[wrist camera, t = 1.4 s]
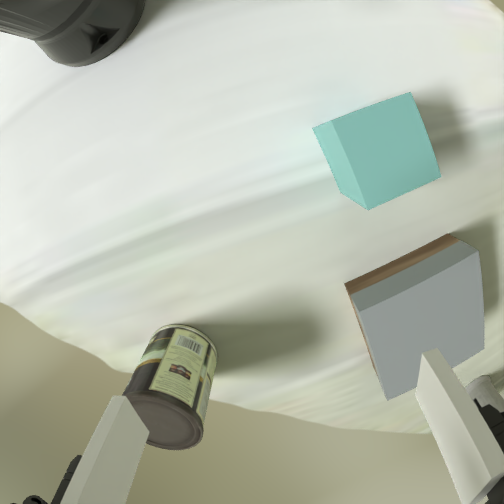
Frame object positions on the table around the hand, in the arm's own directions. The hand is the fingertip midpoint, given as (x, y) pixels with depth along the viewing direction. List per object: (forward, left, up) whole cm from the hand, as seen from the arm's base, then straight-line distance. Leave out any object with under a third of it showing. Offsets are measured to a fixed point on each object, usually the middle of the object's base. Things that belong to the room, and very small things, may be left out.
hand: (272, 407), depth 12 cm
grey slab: (+6, +22, -22) cm, 31 cm away
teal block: (-12, +8, -26) cm, 30 cm away
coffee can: (+20, -8, -26) cm, 33 cm away
